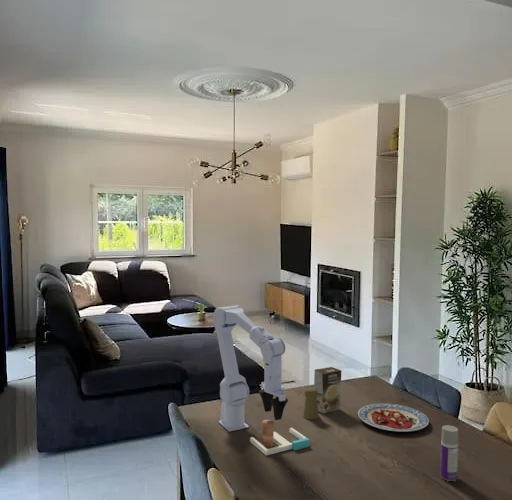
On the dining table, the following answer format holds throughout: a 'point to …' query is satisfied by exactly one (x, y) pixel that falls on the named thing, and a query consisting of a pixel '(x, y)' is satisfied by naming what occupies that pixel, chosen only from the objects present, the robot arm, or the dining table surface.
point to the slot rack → (283, 443)
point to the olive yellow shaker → (311, 404)
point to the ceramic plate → (393, 417)
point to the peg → (267, 433)
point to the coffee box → (328, 389)
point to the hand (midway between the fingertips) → (272, 415)
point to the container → (449, 453)
